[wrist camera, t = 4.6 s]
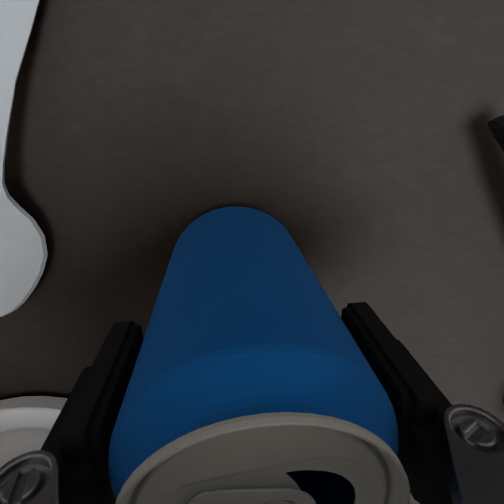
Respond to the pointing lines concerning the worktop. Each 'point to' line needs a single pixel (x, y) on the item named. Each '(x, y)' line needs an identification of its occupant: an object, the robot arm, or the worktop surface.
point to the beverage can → (251, 383)
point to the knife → (498, 130)
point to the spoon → (3, 205)
